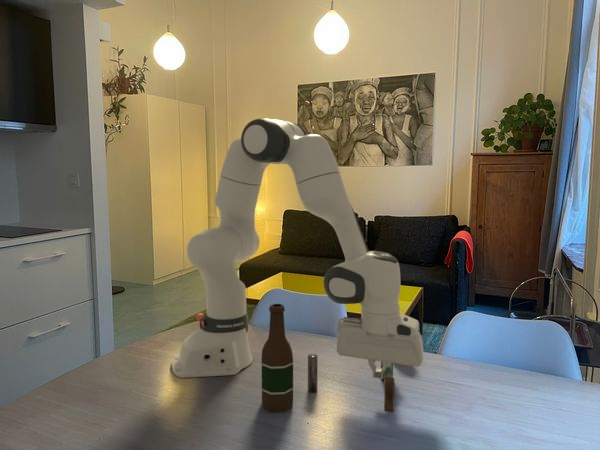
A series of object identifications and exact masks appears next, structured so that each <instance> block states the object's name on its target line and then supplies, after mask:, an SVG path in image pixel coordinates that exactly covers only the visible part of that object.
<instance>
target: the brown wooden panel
mask: <svg viewBox="0 0 600 450" xmlns="http://www.w3.org/2000/svg"><path fill="white" fill-rule="evenodd" d="M383 389H384V390H383V391H384V397H383V398H384V399H383V401H384V402H383V404H384V405H383V408H384V409H383V410H384V412H388V413H394V412H395V411H394V408H395V404H394V403H395V401H394V400H395V378H394V376H393V377H392V365H391V363H389V365H388V367H387V369H386V370H385V371H384V381H383Z"/></svg>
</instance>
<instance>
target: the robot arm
mask: <svg viewBox="0 0 600 450" xmlns="http://www.w3.org/2000/svg"><path fill="white" fill-rule="evenodd" d="M270 164H272V165H282V164H284V165H288V166H289V168H290V169H291V171H292V174H293V176H294V181H295V185H296V189H297V192H298V195H299V198H300V201H301V202H302V204H303V206H304V209H306V211H307V212H309V213H310V214H312V215H314V216H316V217H318V218H320V219H322V220H324V221H326V222H327V223H328V224H330V225H331V227H332V228H333V229H334V231H335V233H336V236H337V238H338V241H339V244H340V246H341V250H342V252H343V255H344V259H345V260H344V261H343V262H341V263H338V264H336V265H334V266H332V267H330V268H329V269H328V270H327V271H326V273H325V274H324V277H323V288H324V292H325V294H326V295H327V297H328V298H329V299H330V300H331V301H333V302H334V303H336V304H339V305H341V304H342V305H353V304H354V305H356V304H358V305H359V304H360V306H361V310H360V311H361V313H360V314H361V316H360V318H359V317H358V318H357V317H348V316H343V317H342V318H339V319H338V320H337V322H336V331H337V333H338V336H337V341H336V342H337V343H336V352H337V354H338V355H340V356H343V357H349V358H356V359H362V360H363V359H364V360H368V361H367V363H368V366H369V367H370V369H371V371H372V378H375V379H376V378H377V379H380V380H381V379H383V378H384V371H385V370H386V369H387V367H388V365H389V363H393V364H398V365H403V366H411V367H420V366H422V364H423V362H424V342H423V337H422V335H421V333H420V331H419V330H420V323H419V320H418V319H415V318H414V317H411V316H409V315H406V314H404V313H401V312H400V311H401V308H400V305H399V299H400V294H401V268H400V263H399V261H398V258H396V257H395V256H394V255H392V254H391V253H389V252H384V251H381V250H379V251H377V250H369V248H368V245H367V243H366V239H365V238H364V234H363V232H362V231H363V230H362V228H361V225H360V224H359V221H358V218H357V215H356V212H355V211H354V208H353V205H352V204H351V202H350V200H349V198H348V195H347V192H346V189H345V186H344V182H343V179H342V175H341V172H340V169H339V165H338V162H337V159H336V158H335V155H334V153H333V151H332V148H331V146H330V145H329V142H328V140H327V139H326V138H325V137H324V136H322V135H320V134H316V133H314V134H313V133H311V134H308V132H307V131H306V129H305V128H303V127H302V126H300V125H299V124H297V123H294V122H290V121H287V120H283V119H275V118H274V119H271V118H268V117H267V118H266V117H260V118H255V119H252V120H251V121H249V122H248V123H247V124H246V125H245V126H244V128H243V129H242V132H241V137H239V138H237V139H234V140H233V141H232V142H231V144H230V146H229V148H228V150H227V153H226V155H225V158H224V162H223V164H222V168H221V172H220V175H219V176H220V177H219V181H218V184H217V191H216V193H215V197H214V198H215V199H214V203H215V205H216V206H215V207H217V208H218V210H219V212H220V222H219V223H220V224H219V225H218V227H213V228H207V229H205V230H202V231H201V232H199V233H196V235H194V236H192V237H191V238H190V240H189V241H188V244H187V247H186V252H187V257H188V260H189V263H190V264H191V265H192V266H193V267H194V268H195V269H197V271H198V272H199V273H200V275H201V277H202V278H201V279H202V280H203V282H204V283H203V284H204V288H205V297H206V300H205V301H206V313H205V314H203V313H202V312H199V313H197V314H196V319H197V321H198V322H199V323H198V324H199V328H198V329H196V330H195V331H194V332H193V333H191V334H189V336H188V337H186V338H184V340H183V341H182V342H181V343H182V344H181V345H180V346H181V347H180V351H179V354H177V355H175V356H174V357H173V359H172V361H171V371H172V372H173V374H174V375H175V376H176V377H178V378H180V379H181V378H199V377H218V376H219V377H221V376H222V377H223V376H234V375H237V374H238V373H239V372H240V371H241V370H242V369H244V368H247V367H249V365H251V364H252V363H253V356H252V352H251V350H250V343H249V339H248V338H249V337H248V331H249V315H248V312H247V288H246V285H245V283H244V282H243V281H242V280H241V279H240V278H239V276H238V273H237V268H236V265H237V264H238V263H241V262H244V261H246V260H248V259H249V258H251V257H252V256H253V255H255V254H256V253H257V251H258V250H259V248H260V247H259V246H260V236H259V234H258V232H257V230H256V221H255V219H256V218H255V217H256V216H255V215H256V207H257V203H258V198H259V194H260V190H261V185H262V181H263V177H264V173H265V171H266V168H267V167H268V166H269V165H270ZM381 361H382V365H383V368H382V369H381V368H378V367H377V365H376V364H375V363H376V362H381Z"/></svg>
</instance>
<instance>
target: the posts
mask: <svg viewBox="0 0 600 450" xmlns="http://www.w3.org/2000/svg"><path fill="white" fill-rule="evenodd" d="M318 361H319V359H318V355H317V353H316V354H315V353H310V354H308V355H307V392H309V393H311V394H314V393H318ZM391 365H392V377H393V378H394V363H391ZM382 368H383V365H382V361H380V369H382ZM380 380H381V381H383V382H384V378H383V379H380Z"/></svg>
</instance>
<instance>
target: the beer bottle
mask: <svg viewBox="0 0 600 450" xmlns="http://www.w3.org/2000/svg"><path fill="white" fill-rule="evenodd" d="M285 309H286V308H285V305H284V304H281V303H273V304H270V305H269V308H268V311H269V313H270V314H269V331H268V337H267V339H266V341H265V343H264V344H263V347H262V349H261V407H262V409H263V410H265V411H267V412H270V413H272V414H273V413H285V412H287V411H289V410H291V409H292V408H293V406H294V405H293V404H294V357H293V350H292V347H291V346H292V345H291V343H290V342H289V341H288V339H287V337H286V333H285V331H286V330H285V328H286V327H285V317H284V316H285V315H284V312H285V311H286V310H285Z"/></svg>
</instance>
